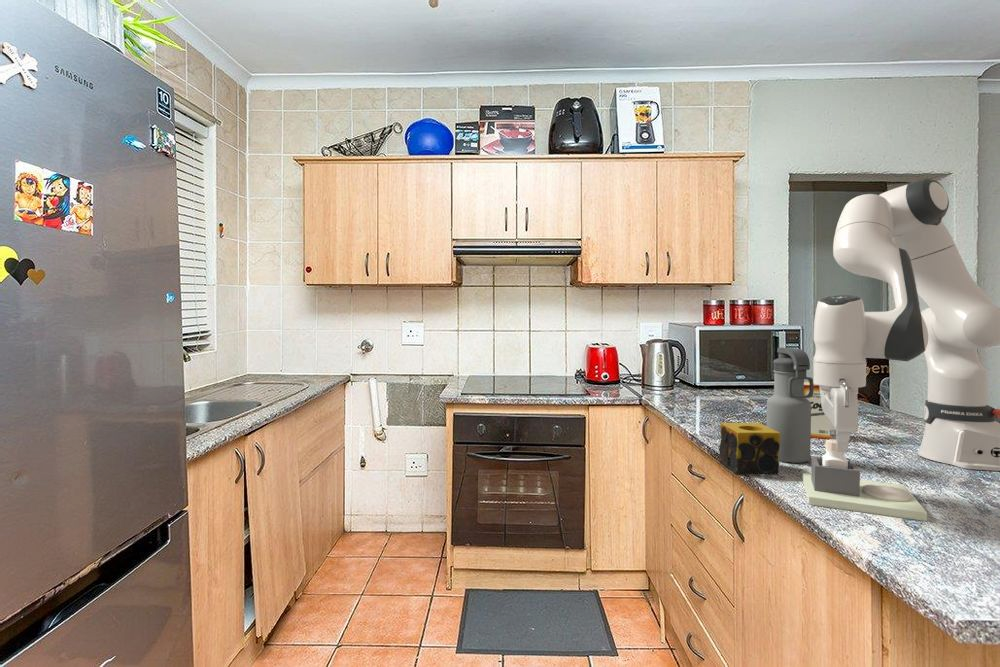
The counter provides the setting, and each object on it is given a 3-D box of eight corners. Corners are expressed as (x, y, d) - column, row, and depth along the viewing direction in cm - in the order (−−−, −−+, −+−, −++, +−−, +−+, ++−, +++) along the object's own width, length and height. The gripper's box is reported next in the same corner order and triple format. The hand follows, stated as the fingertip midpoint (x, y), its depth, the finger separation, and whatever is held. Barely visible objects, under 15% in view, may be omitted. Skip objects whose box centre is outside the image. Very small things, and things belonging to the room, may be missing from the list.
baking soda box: (799, 437, 149) (800, 383, 149) (799, 432, 155) (800, 380, 154) (838, 441, 145) (839, 385, 144) (836, 436, 150) (837, 382, 150)
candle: (717, 462, 126) (718, 422, 126) (759, 462, 126) (759, 422, 125) (735, 475, 116) (736, 432, 115) (780, 475, 116) (781, 432, 115)
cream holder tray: (904, 492, 104) (904, 461, 104) (926, 521, 90) (928, 485, 90) (802, 479, 112) (803, 450, 112) (808, 504, 98) (809, 471, 98)
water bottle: (820, 463, 124) (822, 349, 122) (782, 465, 123) (784, 350, 122) (793, 452, 134) (795, 346, 132) (758, 453, 133) (759, 347, 132)
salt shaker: (823, 488, 102) (824, 442, 102) (821, 482, 106) (822, 438, 105) (847, 492, 100) (848, 444, 100) (844, 485, 104) (845, 440, 103)
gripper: (868, 384, 91) (867, 460, 91) (849, 371, 109) (848, 434, 110) (827, 382, 94) (826, 456, 94) (815, 370, 112) (814, 432, 112)
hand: (838, 444), depth 102 cm, fingers open, 8 cm apart
